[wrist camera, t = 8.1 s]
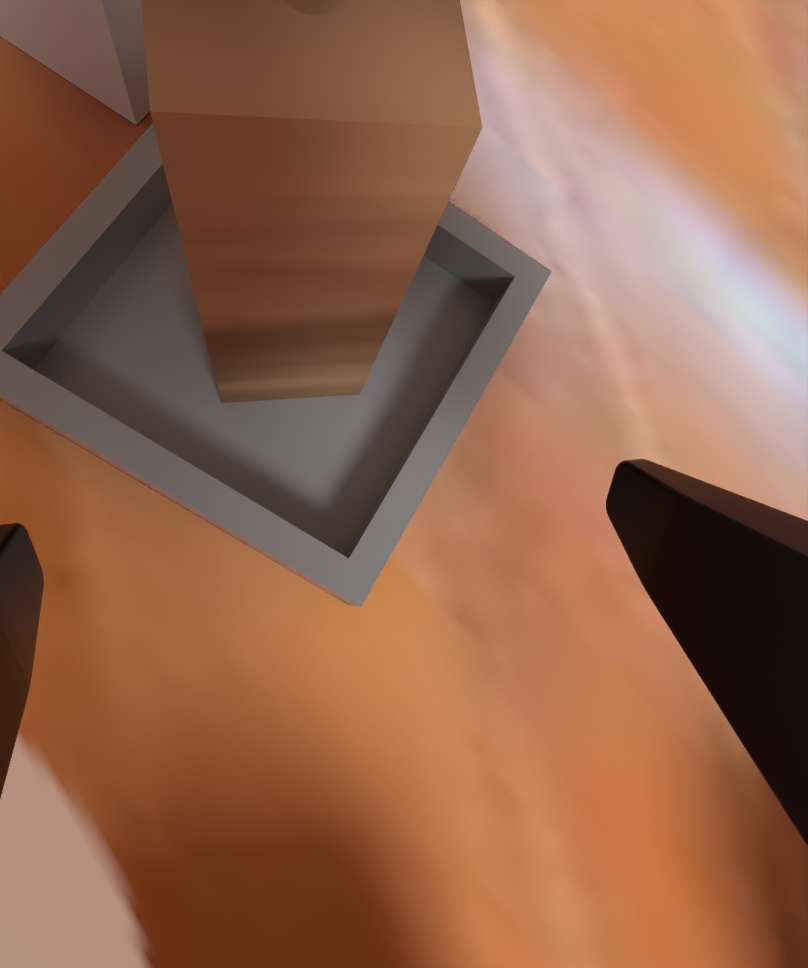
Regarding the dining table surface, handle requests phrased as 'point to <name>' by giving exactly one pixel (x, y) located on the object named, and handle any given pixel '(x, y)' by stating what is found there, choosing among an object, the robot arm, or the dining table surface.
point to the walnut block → (306, 173)
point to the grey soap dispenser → (86, 46)
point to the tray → (254, 424)
